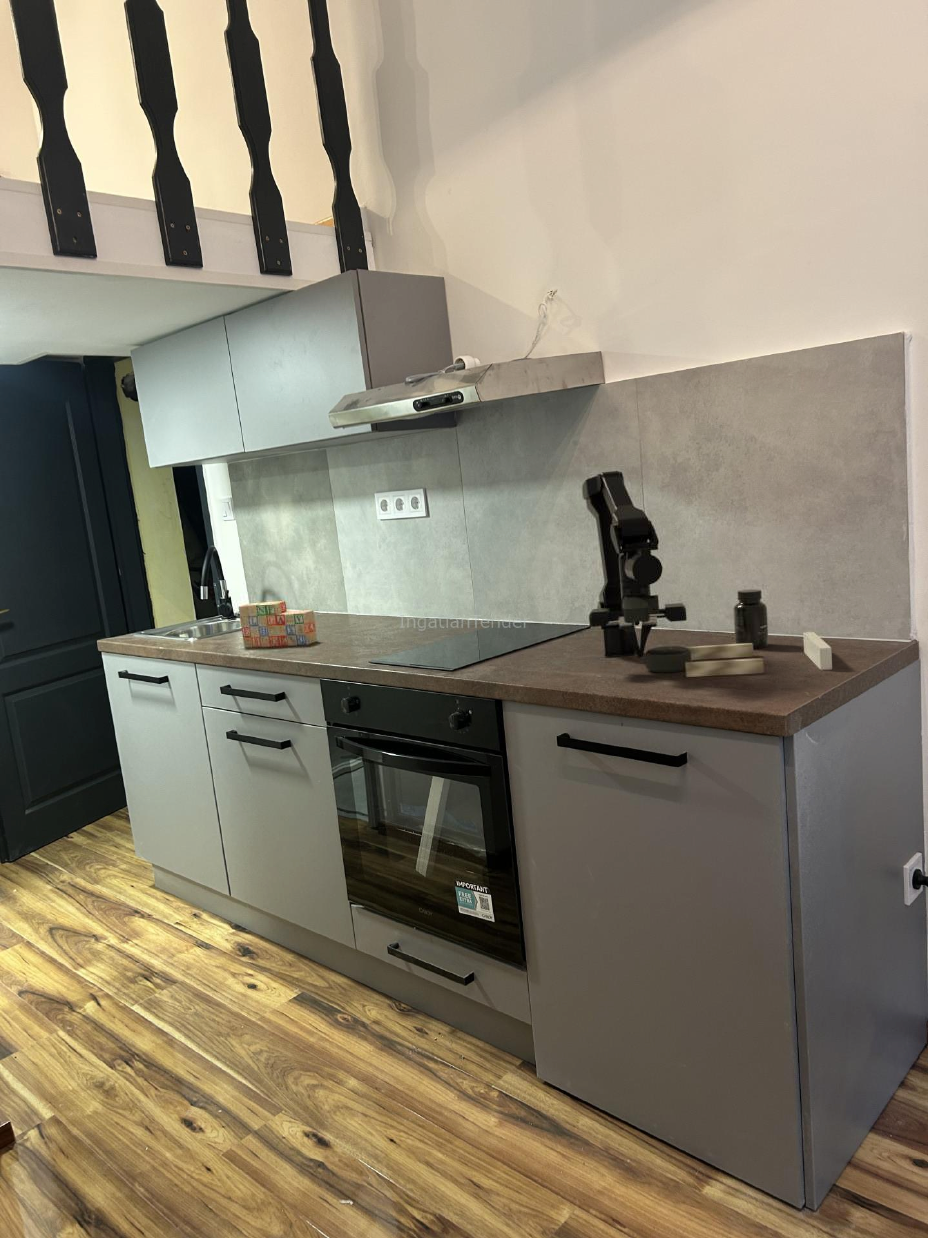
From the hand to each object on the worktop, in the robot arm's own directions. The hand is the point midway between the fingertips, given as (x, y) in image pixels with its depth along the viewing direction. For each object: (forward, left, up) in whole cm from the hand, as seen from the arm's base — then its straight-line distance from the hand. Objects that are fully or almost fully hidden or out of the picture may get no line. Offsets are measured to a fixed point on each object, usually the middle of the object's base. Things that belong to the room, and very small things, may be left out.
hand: (640, 657), depth 181 cm
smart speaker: (+5, 0, -3) cm, 6 cm away
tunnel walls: (+15, 0, -2) cm, 16 cm away
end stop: (+33, 0, -2) cm, 33 cm away
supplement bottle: (+23, +18, -3) cm, 30 cm away
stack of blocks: (-103, +63, -3) cm, 120 cm away
